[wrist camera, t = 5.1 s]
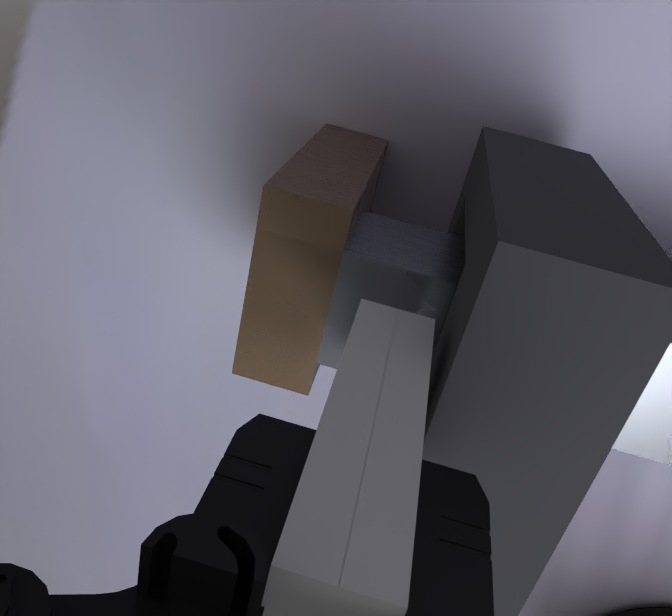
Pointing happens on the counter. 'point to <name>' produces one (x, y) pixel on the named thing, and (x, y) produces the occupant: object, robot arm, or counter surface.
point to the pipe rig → (364, 277)
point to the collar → (542, 343)
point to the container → (646, 612)
